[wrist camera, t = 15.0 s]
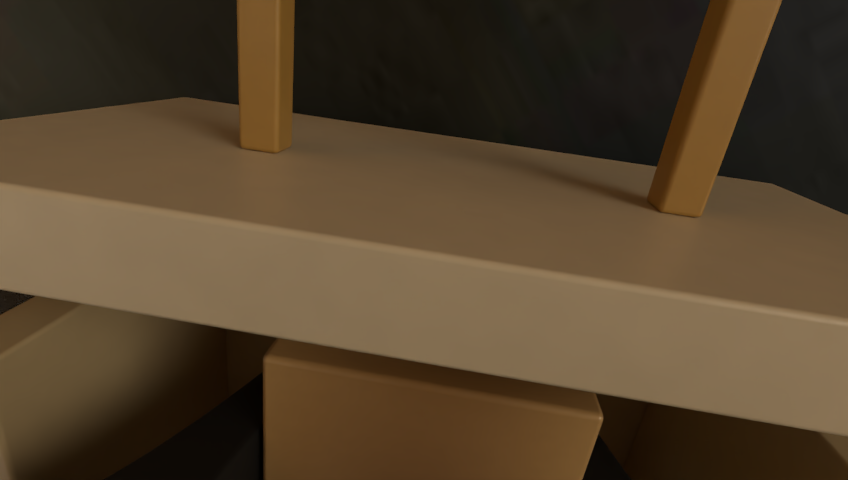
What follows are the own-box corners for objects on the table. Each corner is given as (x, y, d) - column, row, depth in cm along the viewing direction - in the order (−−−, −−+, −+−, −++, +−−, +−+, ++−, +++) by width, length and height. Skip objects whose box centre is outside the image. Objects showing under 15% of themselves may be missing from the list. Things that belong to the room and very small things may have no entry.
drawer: (167, -171, 9) (-574, -721, 3) (887, -86, 8) (2223, -566, 2) (209, 508, 16) (32, 804, 9) (603, 584, 15) (694, 958, 9)
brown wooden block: (330, 443, 12) (261, 622, 8) (343, 241, 10) (259, 356, 6) (503, 475, 11) (517, 674, 8) (556, 276, 9) (606, 417, 6)
